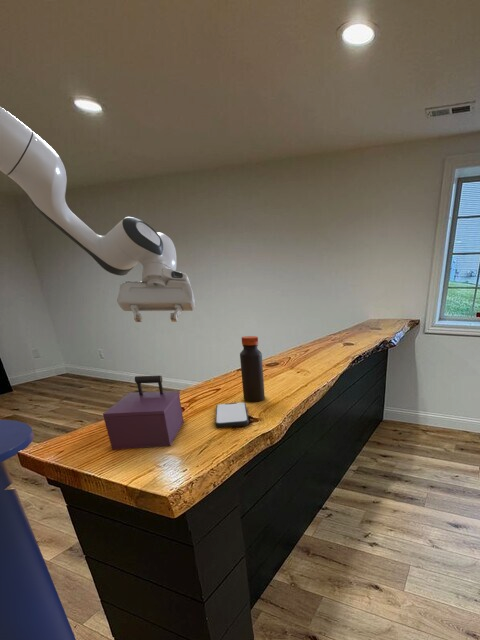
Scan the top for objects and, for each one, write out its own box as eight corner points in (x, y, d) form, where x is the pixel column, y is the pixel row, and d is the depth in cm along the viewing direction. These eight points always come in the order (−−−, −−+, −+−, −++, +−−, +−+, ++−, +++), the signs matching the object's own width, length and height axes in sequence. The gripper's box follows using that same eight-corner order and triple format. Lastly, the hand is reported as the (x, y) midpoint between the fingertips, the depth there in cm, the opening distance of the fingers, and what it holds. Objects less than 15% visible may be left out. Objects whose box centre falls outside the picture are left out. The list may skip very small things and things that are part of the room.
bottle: (268, 398, 116) (265, 336, 108) (256, 403, 110) (251, 339, 102) (252, 395, 119) (247, 335, 111) (239, 400, 113) (233, 337, 105)
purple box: (134, 424, 93) (128, 396, 90) (183, 422, 95) (179, 394, 92) (111, 449, 79) (103, 417, 76) (170, 446, 81) (164, 414, 78)
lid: (129, 395, 91) (124, 374, 88) (179, 393, 93) (176, 372, 90) (103, 417, 76) (97, 392, 74) (164, 414, 78) (160, 390, 76)
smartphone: (249, 426, 93) (246, 406, 107) (249, 421, 92) (245, 401, 106) (215, 429, 91) (216, 408, 105) (214, 423, 90) (215, 403, 104)
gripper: (115, 273, 97) (110, 312, 92) (192, 274, 100) (191, 312, 95) (125, 290, 103) (120, 328, 98) (197, 290, 106) (196, 327, 101)
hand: (156, 320), depth 96 cm, fingers open, 8 cm apart
